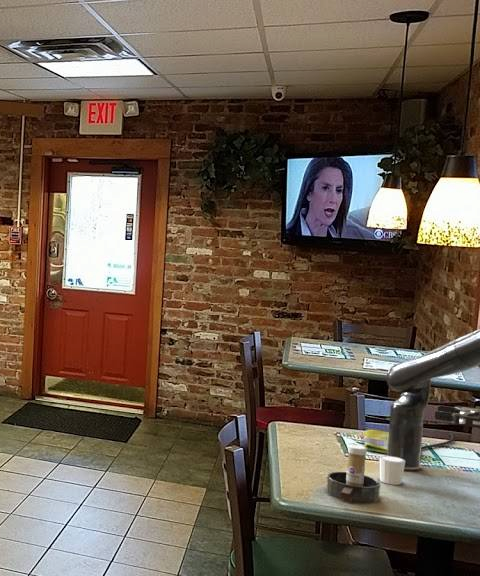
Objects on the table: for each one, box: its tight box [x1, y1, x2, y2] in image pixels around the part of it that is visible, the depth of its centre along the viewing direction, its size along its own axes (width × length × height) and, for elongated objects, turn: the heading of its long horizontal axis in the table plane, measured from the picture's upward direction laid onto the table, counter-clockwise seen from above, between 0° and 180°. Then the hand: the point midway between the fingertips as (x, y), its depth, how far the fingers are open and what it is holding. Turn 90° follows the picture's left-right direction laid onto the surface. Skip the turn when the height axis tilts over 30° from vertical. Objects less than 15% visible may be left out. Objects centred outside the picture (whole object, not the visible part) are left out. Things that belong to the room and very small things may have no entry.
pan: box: [325, 471, 381, 504], centre depth 216 cm, size 13×13×4 cm
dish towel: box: [363, 429, 389, 454], centre depth 267 cm, size 18×24×3 cm
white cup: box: [379, 455, 405, 486], centre depth 229 cm, size 7×7×7 cm
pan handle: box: [340, 487, 354, 504], centre depth 208 cm, size 6×2×4 cm, turn 144°
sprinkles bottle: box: [346, 444, 368, 487], centre depth 215 cm, size 5×5×13 cm
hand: (436, 412), depth 207 cm, fingers open, 8 cm apart
